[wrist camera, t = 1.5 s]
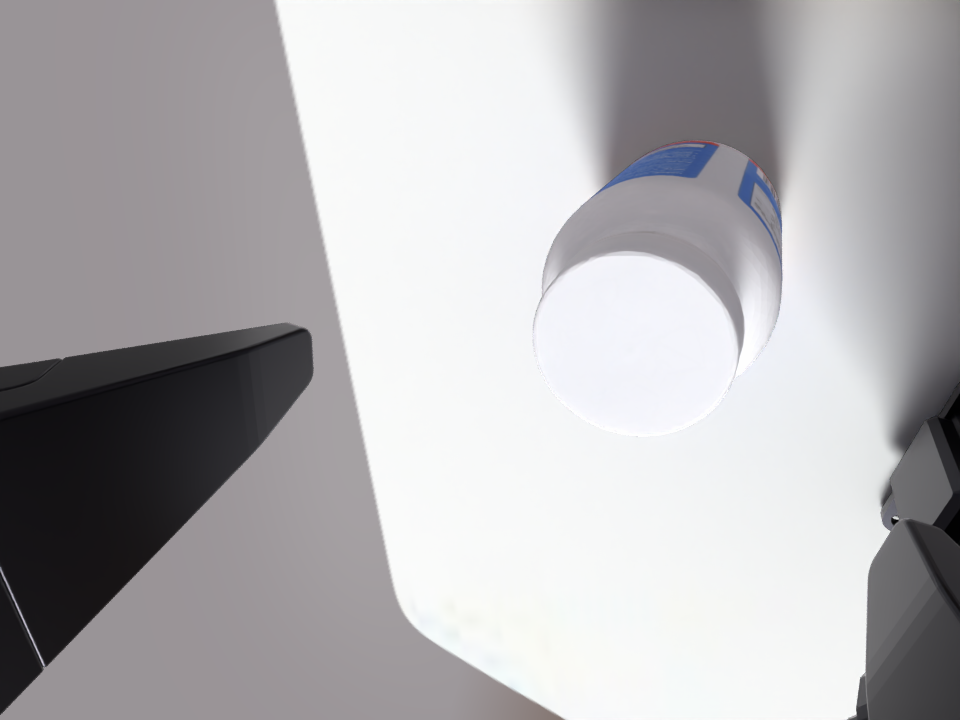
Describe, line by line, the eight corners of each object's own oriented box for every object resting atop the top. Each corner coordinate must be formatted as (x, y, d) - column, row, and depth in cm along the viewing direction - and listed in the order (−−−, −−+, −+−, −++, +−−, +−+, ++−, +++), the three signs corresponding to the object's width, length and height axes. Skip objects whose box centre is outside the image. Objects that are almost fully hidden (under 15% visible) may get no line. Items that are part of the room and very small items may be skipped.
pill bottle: (581, 260, 22) (461, 382, 14) (651, 109, 19) (548, 154, 11) (725, 332, 20) (683, 509, 13) (823, 184, 17) (849, 295, 10)
